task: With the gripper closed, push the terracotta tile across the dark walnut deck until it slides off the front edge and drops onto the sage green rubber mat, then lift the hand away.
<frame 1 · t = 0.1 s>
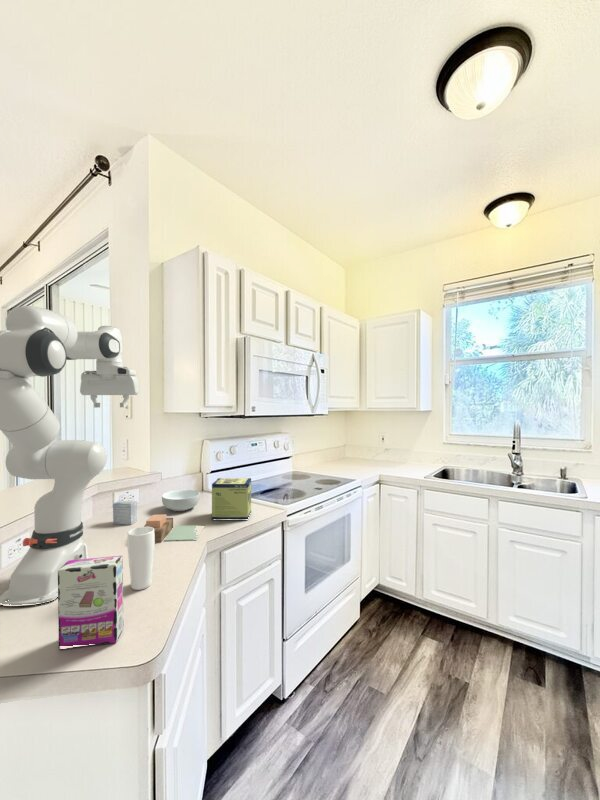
hand: (110, 407, 131), 48 cm above the counter, tool pointing down, fingers open, 8 cm apart
terracotta tile: (156, 524, 130), point 4 cm above the counter, touching walnut deck
walnut deck: (156, 535, 130), on the counter
sage mat: (185, 533, 132), on the counter
medicine box: (125, 523, 143), on the counter
protein box: (232, 517, 151), on the counter
candy bar box: (92, 640, 74), on the counter
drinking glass: (141, 586, 95), on the counter
cereal bowl: (181, 509, 161), on the counter
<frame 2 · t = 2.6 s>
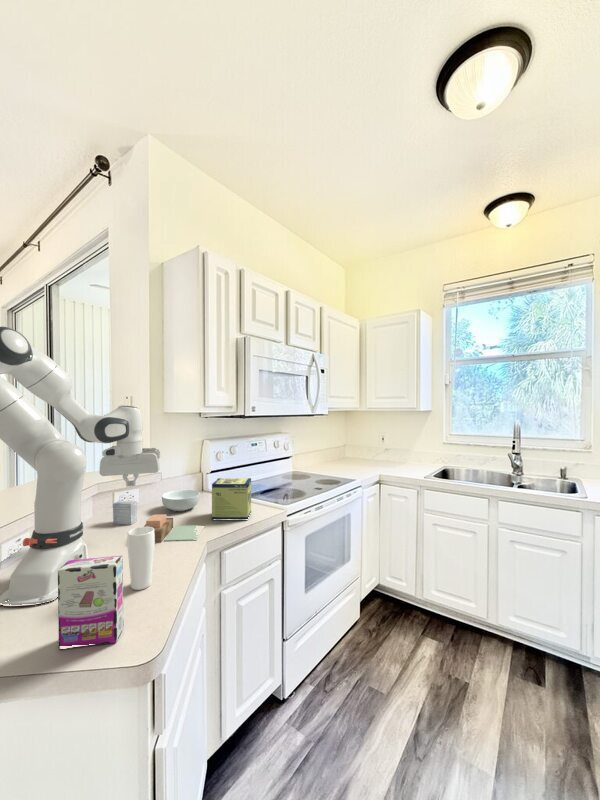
hand: (131, 486, 130), 18 cm above the counter, tool pointing down, fingers closed
nothing on the counter moved.
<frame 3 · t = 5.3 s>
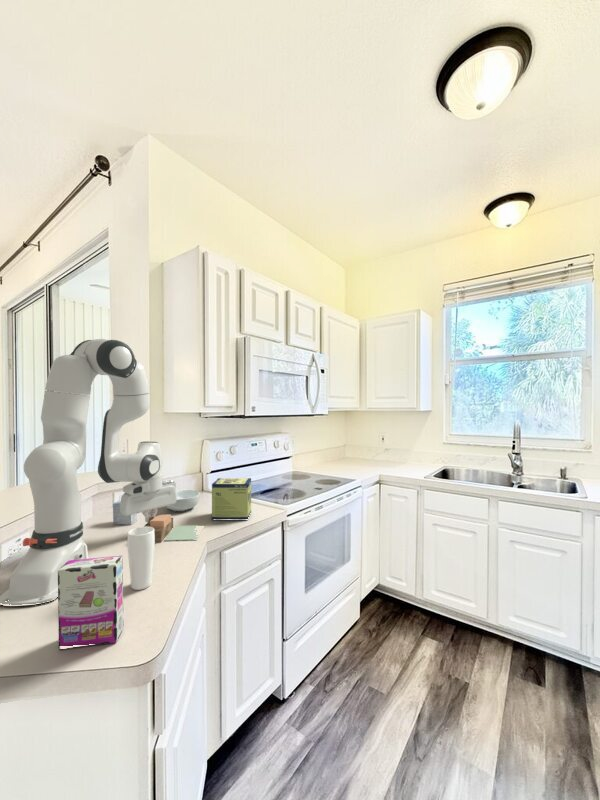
hand: (150, 521, 130), 5 cm above the counter, tool pointing down, fingers closed
terracotta tile: (160, 524, 130), point 4 cm above the counter, touching gripper
everything else where it was.
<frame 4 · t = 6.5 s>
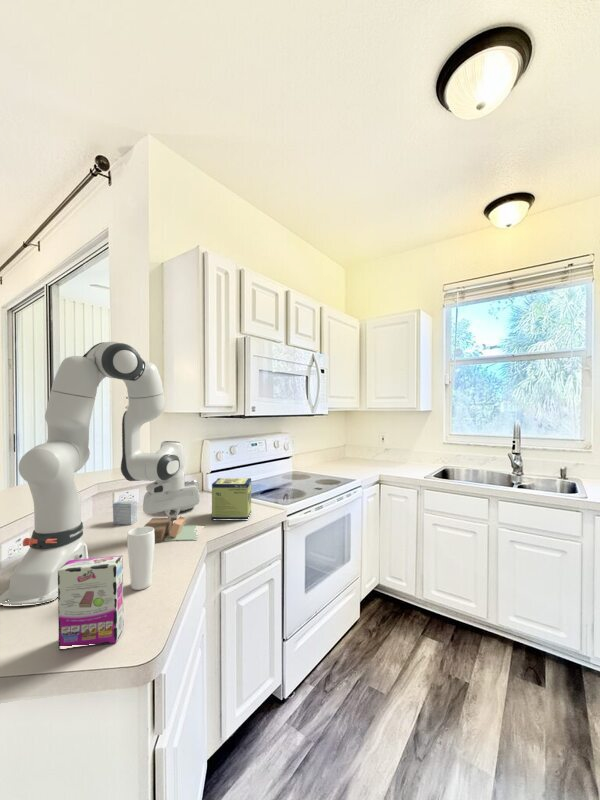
hand: (172, 520, 131), 5 cm above the counter, tool pointing down, fingers closed
terracotta tile: (174, 525, 130), point 4 cm above the counter, tilted 111°, touching sage mat
everything else where it was.
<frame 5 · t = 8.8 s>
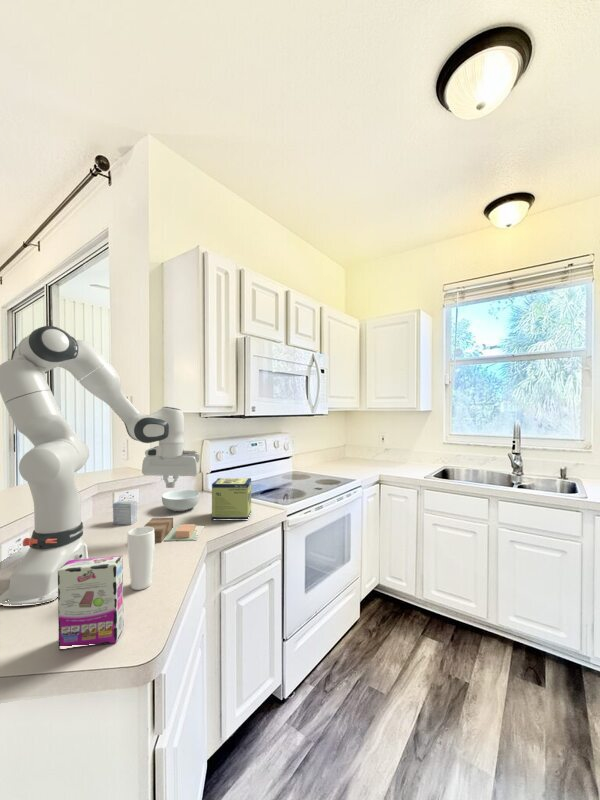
hand: (170, 487, 130), 18 cm above the counter, tool pointing down, fingers closed
terracotta tile: (185, 527, 130), point 3 cm above the counter, tilted 180°, touching sage mat
everything else where it was.
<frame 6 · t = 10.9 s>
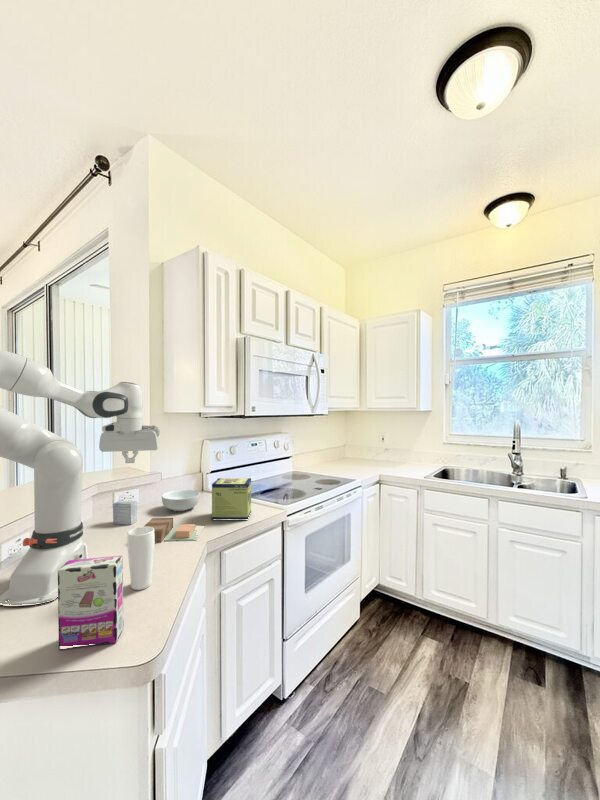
hand: (130, 463, 130), 27 cm above the counter, tool pointing down, fingers closed
nothing on the counter moved.
at the end: terracotta tile inside the target area (2.1 cm from its centre), point 2.9 cm above the counter; the gripper is holding nothing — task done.
